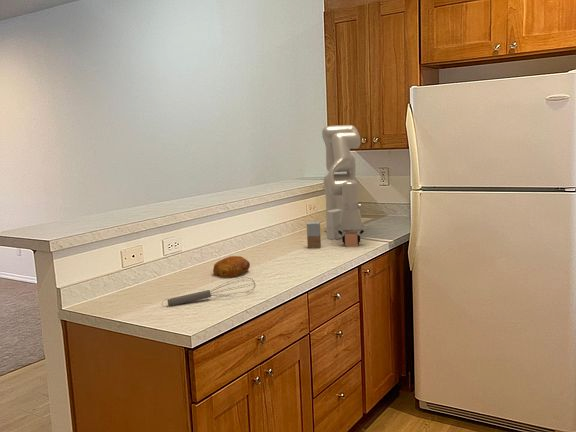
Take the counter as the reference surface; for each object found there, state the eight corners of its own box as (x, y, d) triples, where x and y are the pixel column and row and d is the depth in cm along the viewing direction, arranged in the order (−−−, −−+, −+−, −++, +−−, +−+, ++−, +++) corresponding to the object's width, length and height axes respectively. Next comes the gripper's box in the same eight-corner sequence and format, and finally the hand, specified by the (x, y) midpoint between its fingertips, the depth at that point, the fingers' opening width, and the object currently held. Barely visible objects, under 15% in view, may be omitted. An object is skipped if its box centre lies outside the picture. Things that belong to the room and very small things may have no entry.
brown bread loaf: (255, 275, 241) (256, 256, 240) (233, 279, 227) (234, 259, 227) (227, 271, 248) (228, 253, 248) (204, 275, 235) (205, 255, 234)
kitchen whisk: (160, 305, 199) (159, 287, 198) (253, 291, 211) (252, 274, 210) (163, 310, 193) (162, 291, 192) (258, 295, 206) (257, 278, 205)
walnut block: (308, 245, 285) (308, 233, 284) (320, 245, 284) (320, 233, 283) (307, 248, 279) (307, 236, 278) (320, 248, 278) (319, 235, 277)
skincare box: (337, 236, 306) (336, 208, 303) (345, 237, 301) (345, 209, 299) (326, 238, 300) (325, 210, 298) (334, 240, 296) (333, 211, 294)
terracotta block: (345, 244, 284) (344, 232, 284) (357, 243, 284) (357, 231, 283) (345, 246, 279) (344, 234, 278) (357, 246, 278) (357, 234, 277)
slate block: (308, 233, 284) (307, 221, 283) (320, 233, 283) (319, 221, 282) (307, 236, 278) (306, 224, 277) (319, 235, 277) (319, 223, 276)
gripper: (368, 205, 281) (369, 241, 284) (332, 206, 283) (333, 242, 286) (368, 207, 274) (369, 244, 276) (332, 208, 276) (333, 245, 278)
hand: (351, 243), depth 281 cm, fingers closed on terracotta block, 6 cm apart
